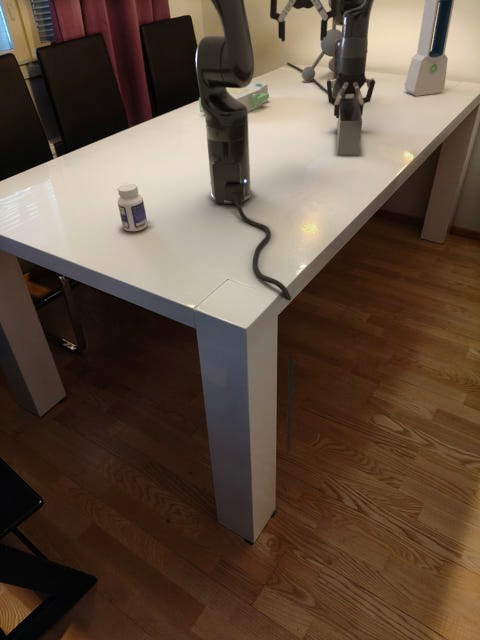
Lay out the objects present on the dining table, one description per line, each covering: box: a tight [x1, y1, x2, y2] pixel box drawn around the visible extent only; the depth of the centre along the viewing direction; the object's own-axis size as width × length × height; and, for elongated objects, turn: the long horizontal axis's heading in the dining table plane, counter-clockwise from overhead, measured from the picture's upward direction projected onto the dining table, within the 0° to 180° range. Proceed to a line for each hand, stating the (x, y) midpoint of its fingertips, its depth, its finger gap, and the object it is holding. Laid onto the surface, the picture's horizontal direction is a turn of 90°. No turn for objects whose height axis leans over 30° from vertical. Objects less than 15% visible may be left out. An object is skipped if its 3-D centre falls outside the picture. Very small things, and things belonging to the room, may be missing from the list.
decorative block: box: [198, 82, 270, 114], centre depth 174 cm, size 26×6×20 cm
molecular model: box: [301, 0, 342, 82], centre depth 196 cm, size 24×22×30 cm
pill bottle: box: [117, 182, 148, 232], centre depth 102 cm, size 5×5×9 cm
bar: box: [336, 98, 363, 157], centre depth 139 cm, size 23×6×9 cm, turn 172°
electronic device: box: [404, 0, 455, 97], centre depth 172 cm, size 12×8×30 cm, turn 105°
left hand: (302, 40), depth 108 cm, fingers open, 8 cm apart
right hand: (347, 117), depth 146 cm, fingers closed on bar, 5 cm apart
